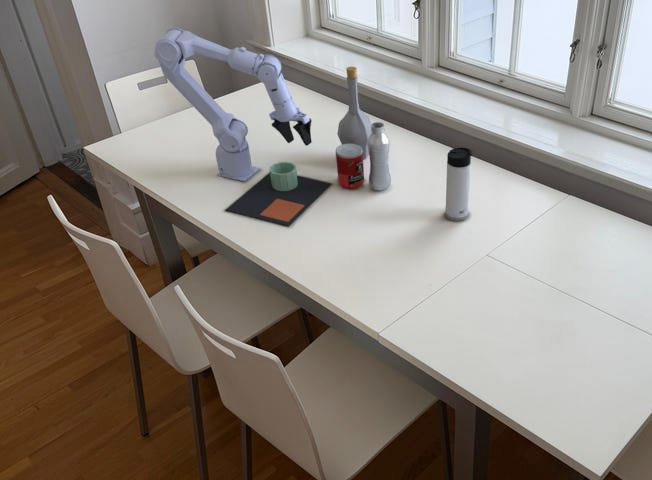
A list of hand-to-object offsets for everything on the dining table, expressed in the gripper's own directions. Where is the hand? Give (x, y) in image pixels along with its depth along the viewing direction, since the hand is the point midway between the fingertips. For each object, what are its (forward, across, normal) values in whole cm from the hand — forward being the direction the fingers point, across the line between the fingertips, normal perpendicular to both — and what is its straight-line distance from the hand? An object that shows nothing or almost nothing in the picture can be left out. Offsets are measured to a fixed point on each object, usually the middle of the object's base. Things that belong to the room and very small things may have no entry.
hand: (299, 142), depth 194 cm
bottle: (+14, -5, -14) cm, 20 cm away
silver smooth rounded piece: (+16, -20, -6) cm, 27 cm away
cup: (+9, +2, +10) cm, 13 cm away
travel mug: (+22, -46, -7) cm, 52 cm away
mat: (+9, -2, +15) cm, 17 cm away
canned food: (+14, -12, -3) cm, 19 cm away
